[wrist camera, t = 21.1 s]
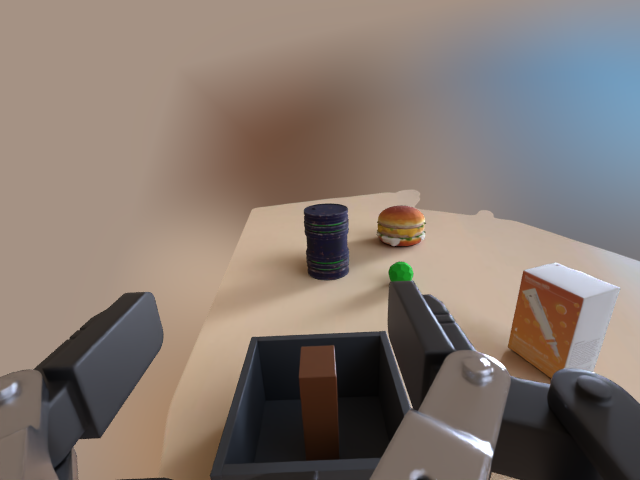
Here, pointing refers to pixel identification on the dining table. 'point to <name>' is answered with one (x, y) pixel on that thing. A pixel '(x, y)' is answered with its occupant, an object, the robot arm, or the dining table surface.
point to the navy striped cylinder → (327, 241)
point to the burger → (401, 226)
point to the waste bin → (286, 414)
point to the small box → (561, 318)
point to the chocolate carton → (319, 402)
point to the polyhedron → (400, 272)
